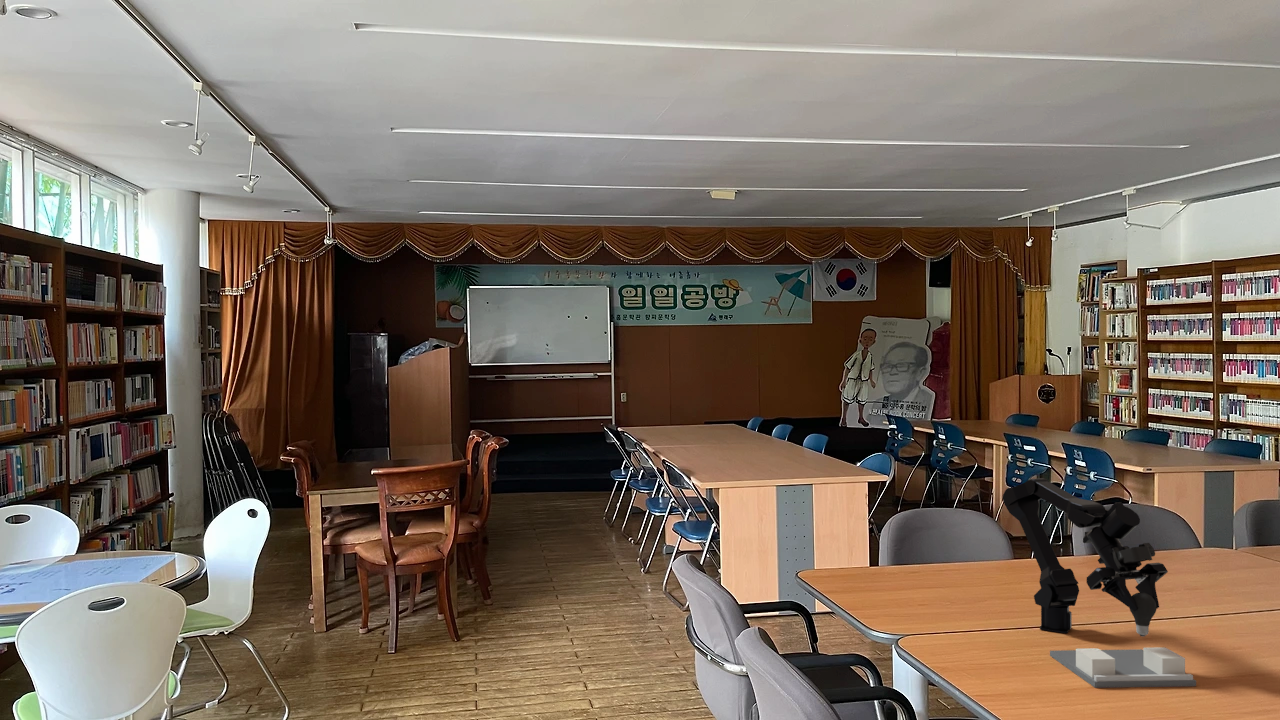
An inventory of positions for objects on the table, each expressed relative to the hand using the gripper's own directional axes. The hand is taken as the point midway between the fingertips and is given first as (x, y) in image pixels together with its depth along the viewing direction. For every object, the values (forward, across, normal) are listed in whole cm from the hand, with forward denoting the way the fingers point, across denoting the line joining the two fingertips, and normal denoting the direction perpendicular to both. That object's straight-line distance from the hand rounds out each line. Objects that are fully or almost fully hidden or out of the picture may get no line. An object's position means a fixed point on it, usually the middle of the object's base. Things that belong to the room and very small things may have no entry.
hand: (1146, 609), depth 201 cm
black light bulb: (+4, 0, +6) cm, 7 cm away
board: (+9, -7, +9) cm, 15 cm away
